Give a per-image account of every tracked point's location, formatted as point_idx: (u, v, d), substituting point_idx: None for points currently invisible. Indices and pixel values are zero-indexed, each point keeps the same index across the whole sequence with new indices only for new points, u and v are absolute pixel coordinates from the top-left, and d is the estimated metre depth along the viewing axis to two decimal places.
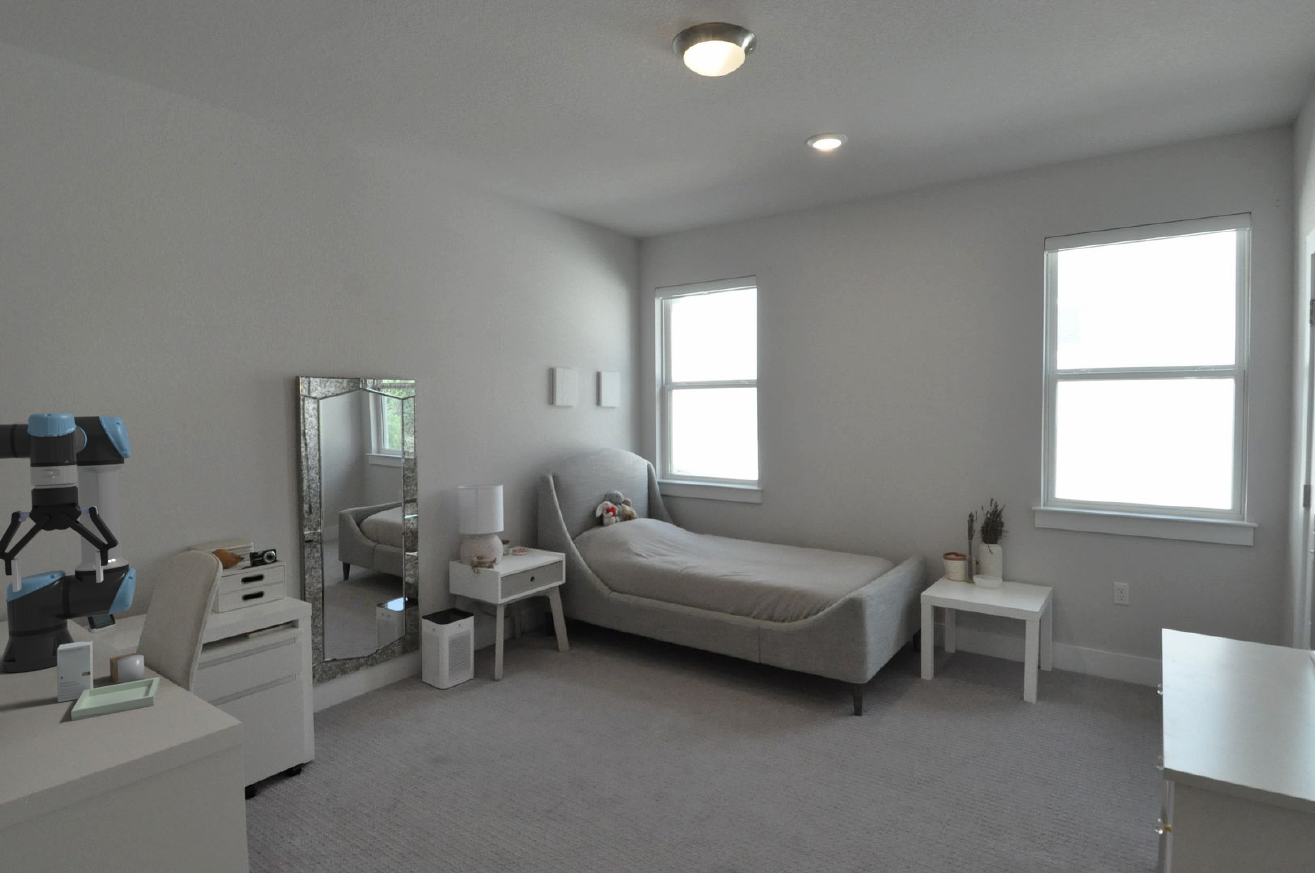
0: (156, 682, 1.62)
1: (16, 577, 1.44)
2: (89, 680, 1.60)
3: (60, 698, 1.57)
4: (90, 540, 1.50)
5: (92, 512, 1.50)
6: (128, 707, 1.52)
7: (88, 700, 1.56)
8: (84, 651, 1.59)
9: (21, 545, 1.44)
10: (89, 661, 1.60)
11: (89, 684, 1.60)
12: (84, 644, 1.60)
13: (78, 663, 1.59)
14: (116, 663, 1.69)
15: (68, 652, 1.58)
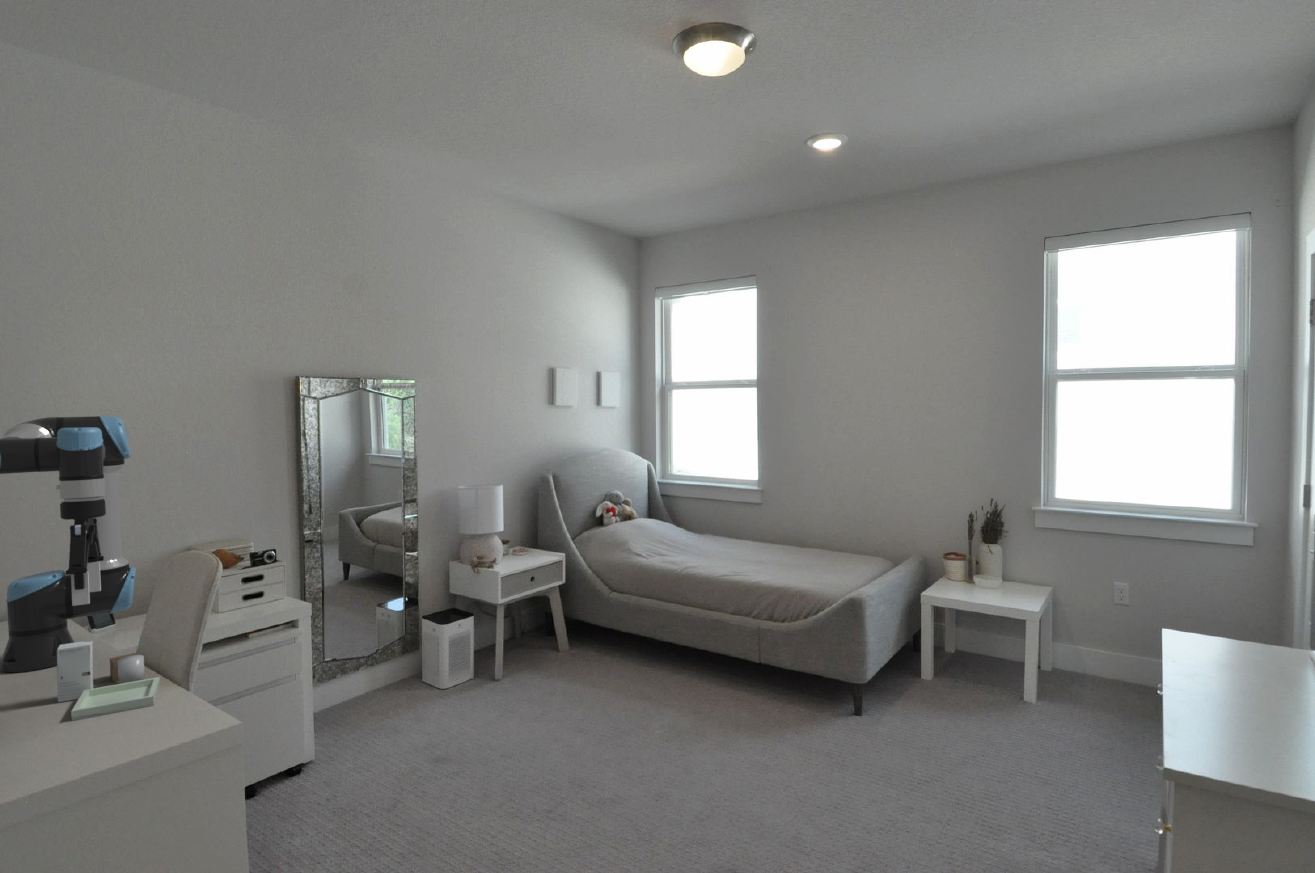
0: (156, 682, 1.62)
1: None
2: (89, 680, 1.60)
3: (60, 698, 1.57)
4: None
5: None
6: (128, 707, 1.52)
7: (88, 700, 1.56)
8: (84, 651, 1.59)
9: None
10: (89, 661, 1.60)
11: (89, 684, 1.60)
12: (84, 644, 1.60)
13: (78, 663, 1.59)
14: (116, 663, 1.69)
15: (68, 652, 1.58)
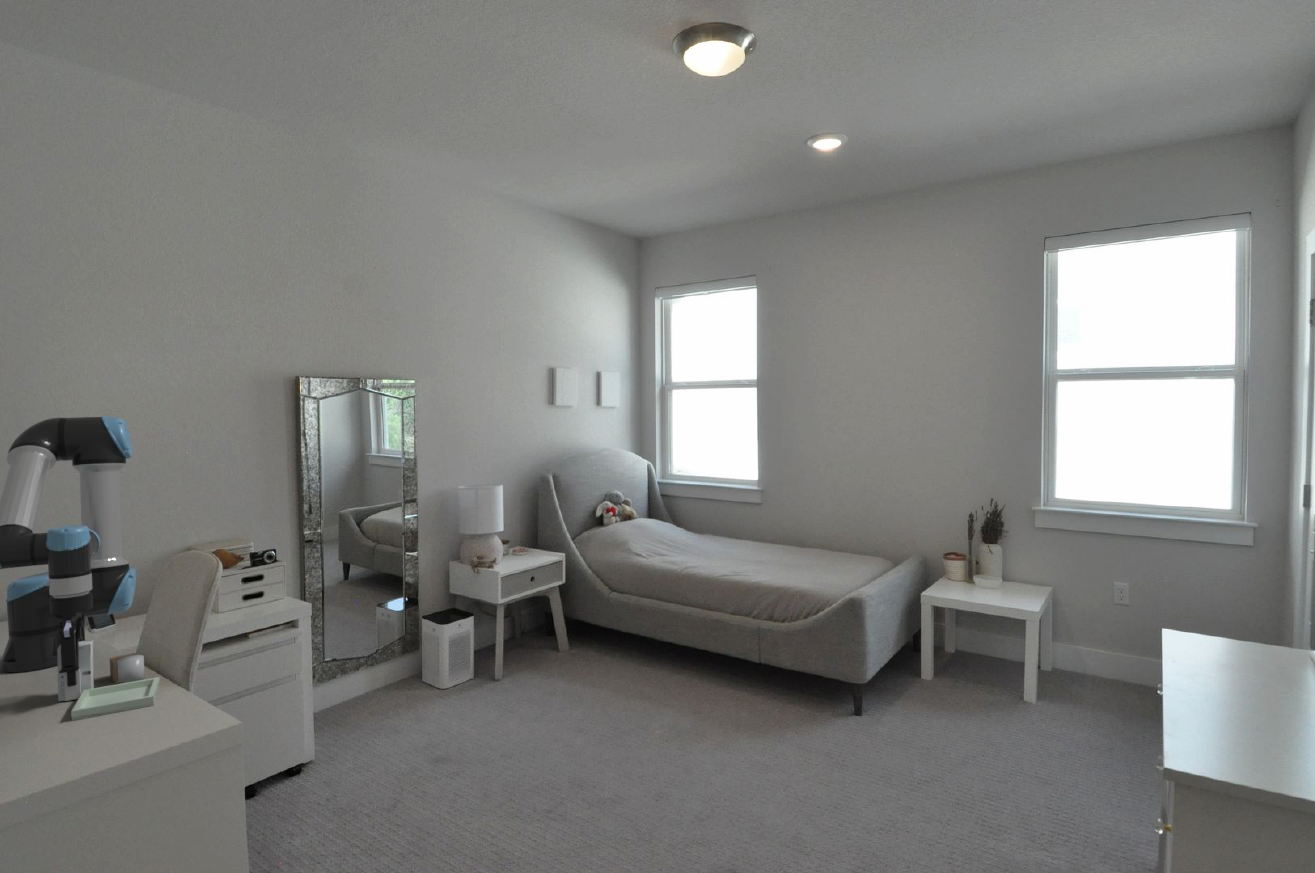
0: (156, 682, 1.62)
1: None
2: (89, 679, 1.60)
3: (60, 697, 1.57)
4: None
5: (60, 633, 1.54)
6: (128, 707, 1.52)
7: (88, 700, 1.56)
8: (85, 651, 1.60)
9: None
10: (89, 660, 1.60)
11: (89, 683, 1.60)
12: (84, 643, 1.60)
13: (79, 662, 1.59)
14: (116, 663, 1.69)
15: None
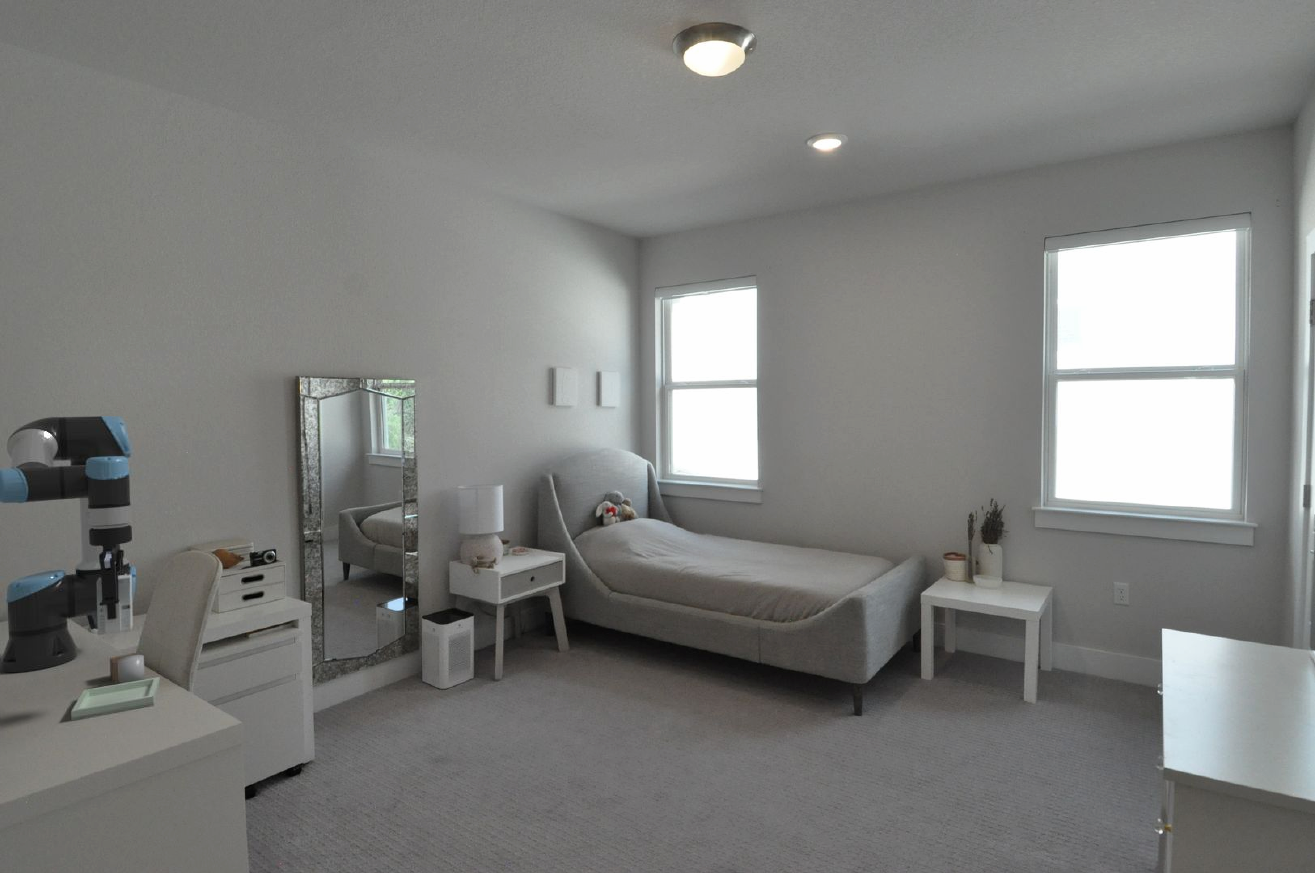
0: (156, 682, 1.62)
1: None
2: (129, 614, 1.56)
3: (100, 631, 1.53)
4: None
5: None
6: (128, 707, 1.52)
7: (88, 700, 1.56)
8: (124, 584, 1.55)
9: None
10: (129, 594, 1.56)
11: (129, 618, 1.56)
12: (124, 577, 1.56)
13: None
14: (116, 663, 1.69)
15: None
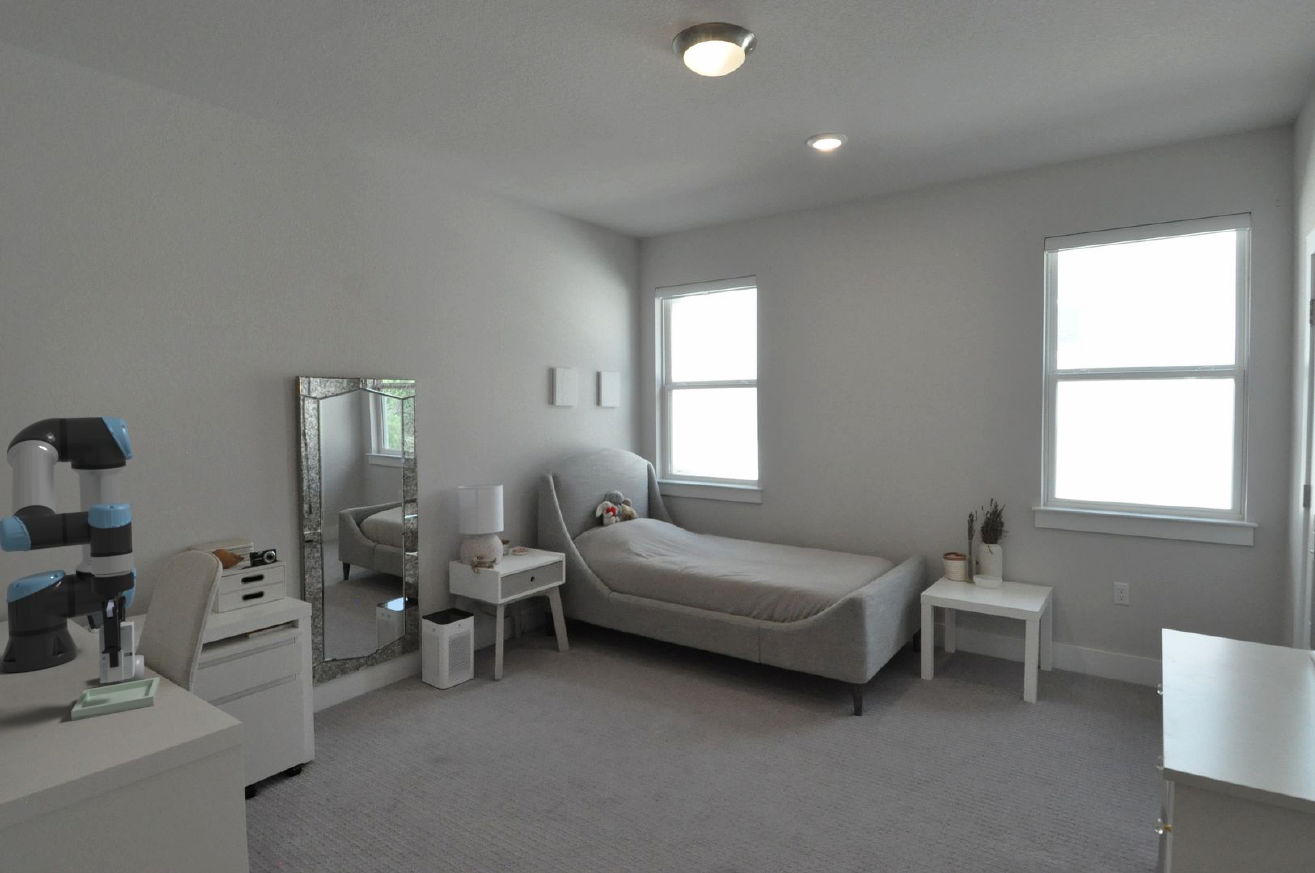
0: (156, 682, 1.62)
1: None
2: (131, 661, 1.56)
3: (102, 679, 1.53)
4: None
5: (103, 613, 1.50)
6: (128, 707, 1.52)
7: (88, 700, 1.56)
8: (126, 631, 1.55)
9: None
10: (131, 641, 1.56)
11: (131, 665, 1.56)
12: (126, 624, 1.56)
13: None
14: None
15: None
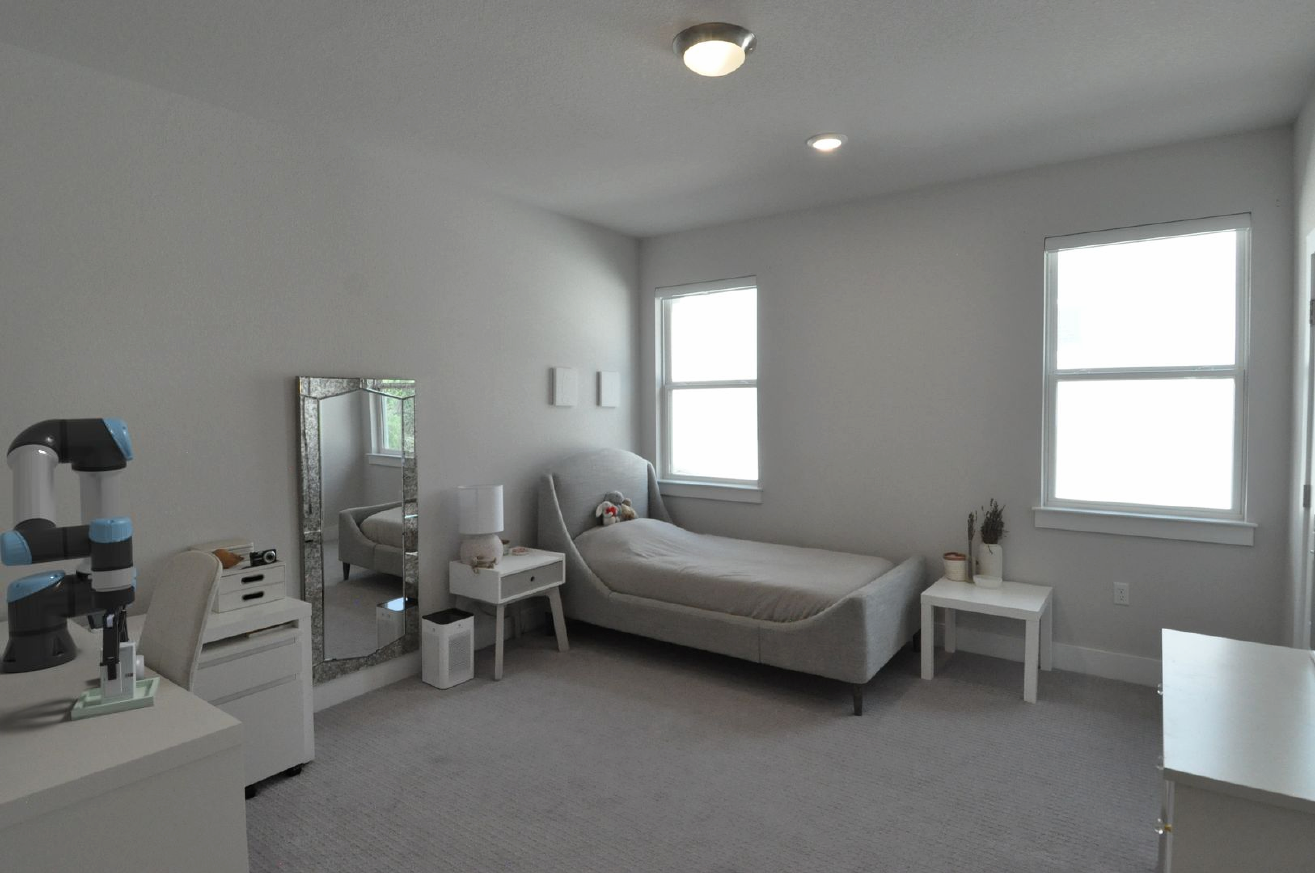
0: (156, 682, 1.62)
1: None
2: (132, 682, 1.56)
3: (103, 700, 1.53)
4: None
5: (103, 623, 1.50)
6: (128, 707, 1.52)
7: (88, 700, 1.56)
8: (127, 652, 1.56)
9: None
10: (132, 662, 1.56)
11: (132, 686, 1.56)
12: (127, 645, 1.56)
13: (121, 664, 1.55)
14: None
15: None
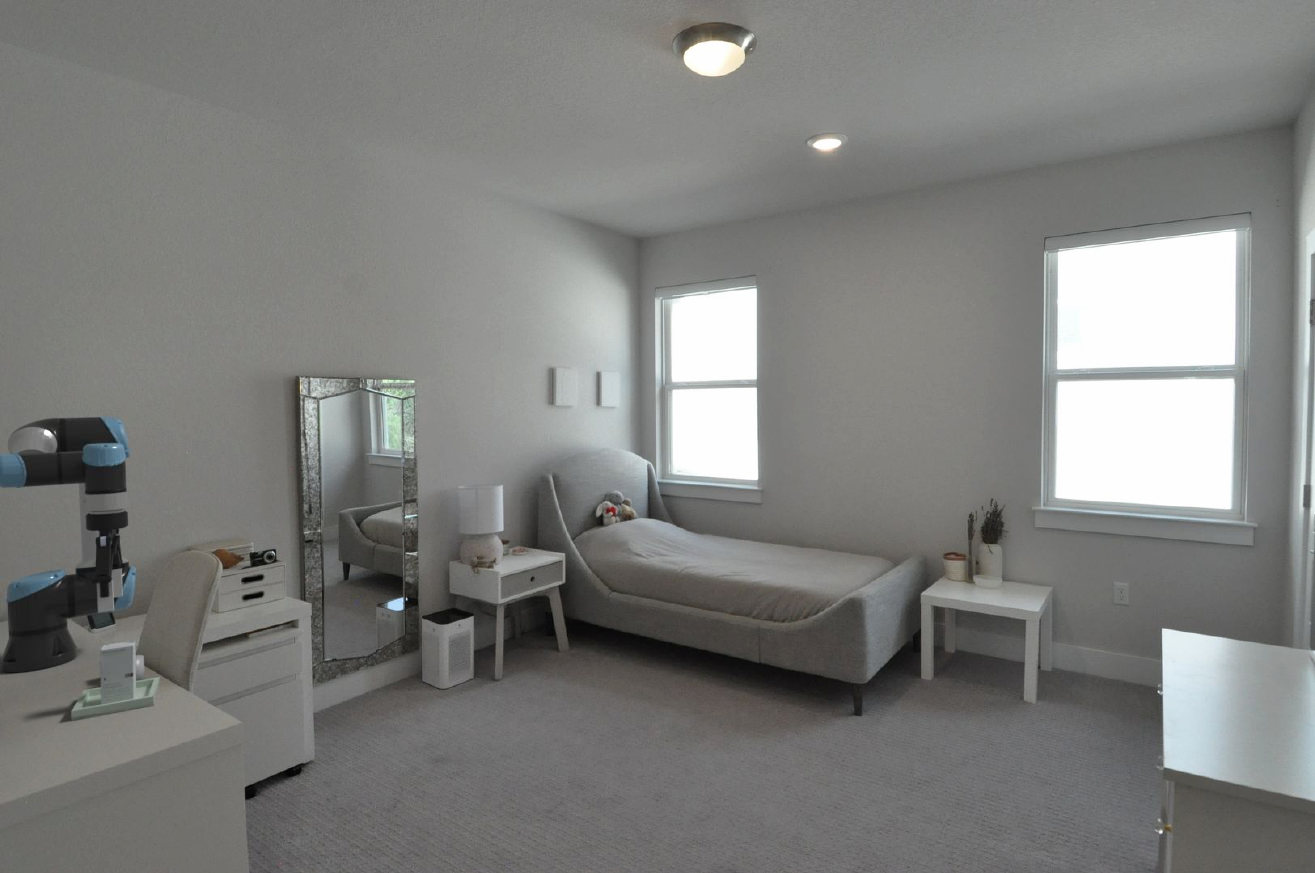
0: (156, 682, 1.62)
1: None
2: (132, 682, 1.56)
3: (103, 700, 1.53)
4: None
5: None
6: (128, 707, 1.52)
7: (88, 700, 1.56)
8: (127, 652, 1.56)
9: None
10: (132, 662, 1.56)
11: (132, 686, 1.56)
12: (127, 645, 1.56)
13: (121, 664, 1.55)
14: None
15: (111, 653, 1.54)
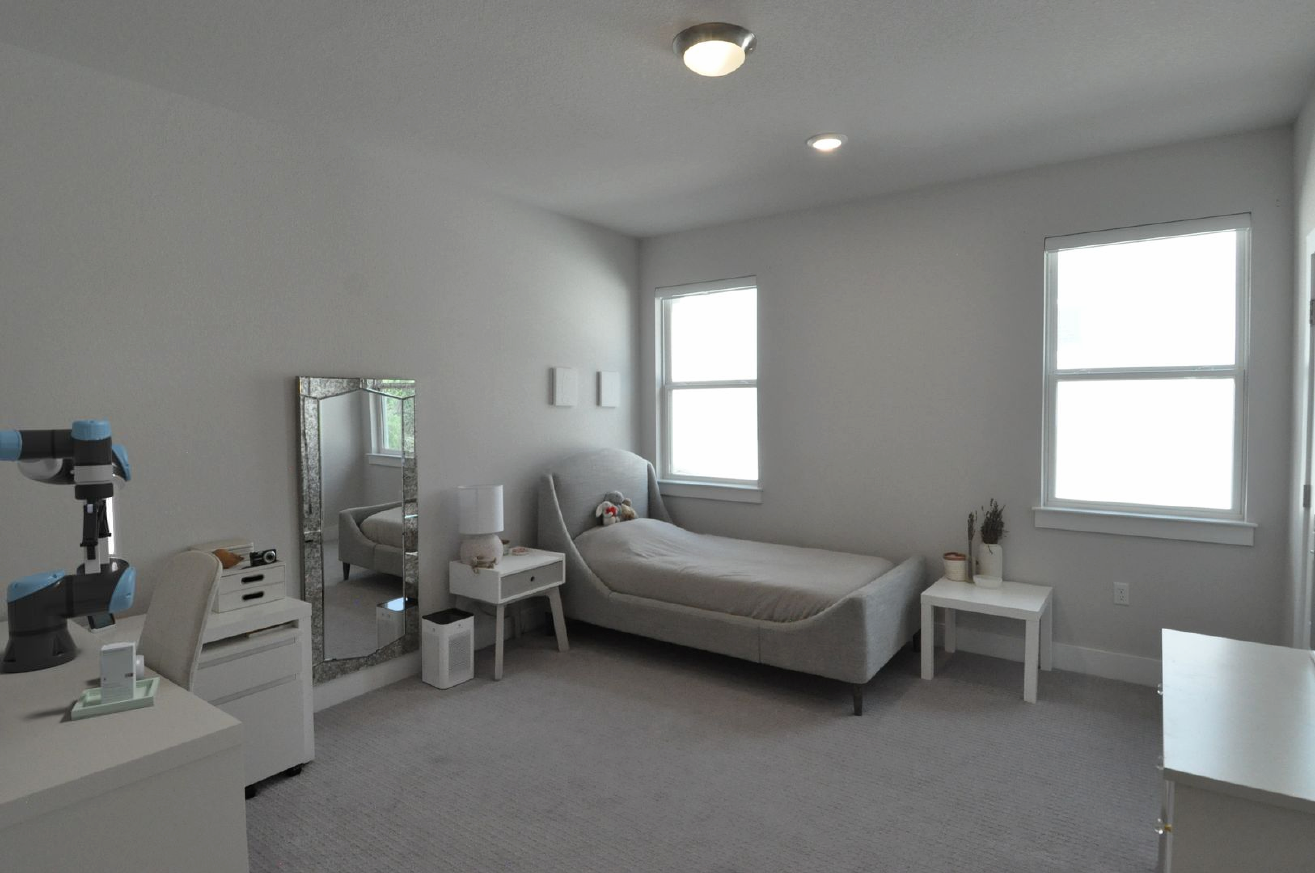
0: (156, 682, 1.62)
1: None
2: (132, 682, 1.56)
3: (103, 700, 1.53)
4: None
5: (84, 509, 1.67)
6: (128, 707, 1.52)
7: (88, 700, 1.56)
8: (127, 652, 1.56)
9: None
10: (132, 662, 1.56)
11: (132, 686, 1.56)
12: (127, 645, 1.56)
13: (121, 664, 1.55)
14: None
15: (111, 653, 1.54)
